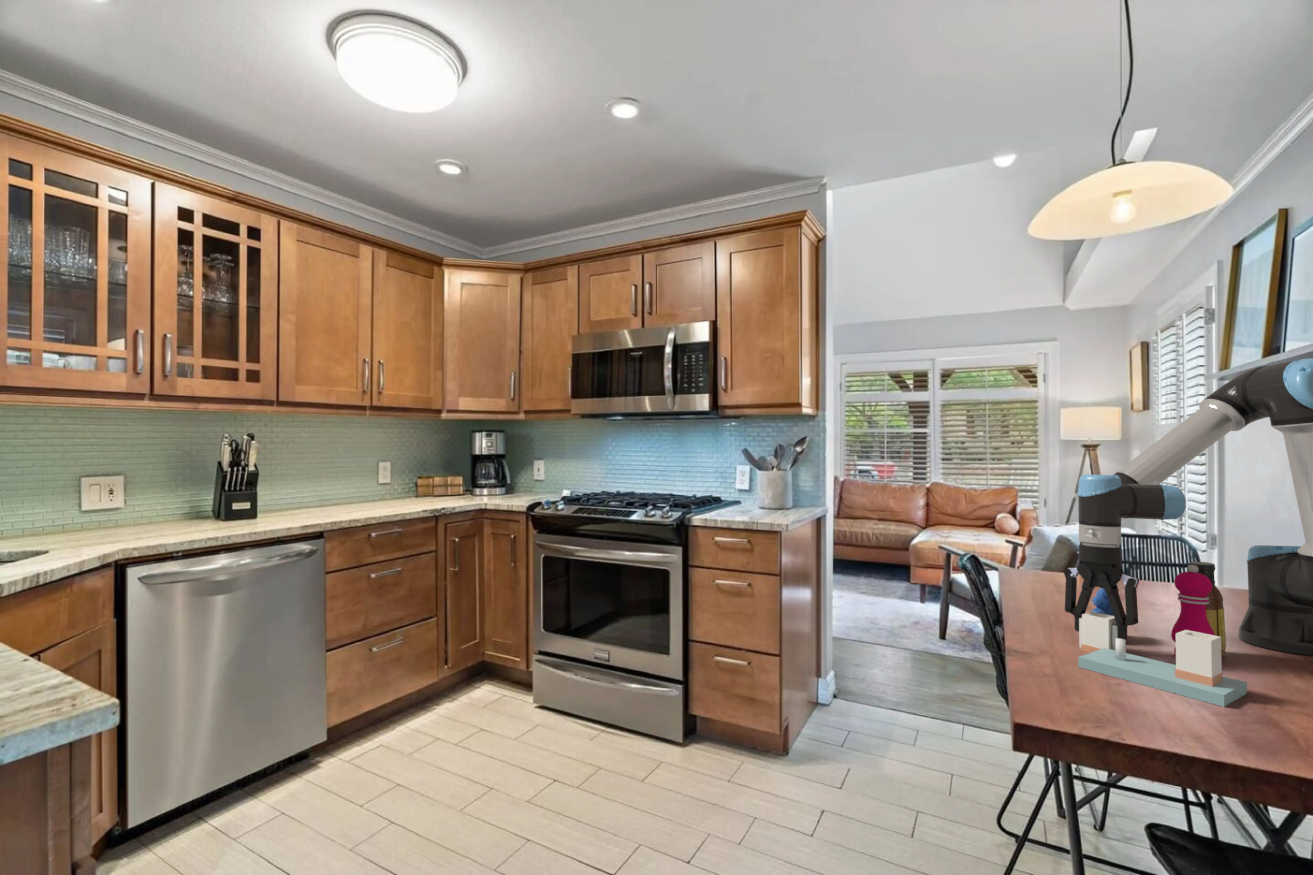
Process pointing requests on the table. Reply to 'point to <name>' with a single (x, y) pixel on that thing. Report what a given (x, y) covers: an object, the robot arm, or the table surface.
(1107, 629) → the sleeve
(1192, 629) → the pepper mill
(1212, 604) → the sauce bottle
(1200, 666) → the seated sleeve
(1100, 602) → the grapes
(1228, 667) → the table surface
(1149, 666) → the pin board
